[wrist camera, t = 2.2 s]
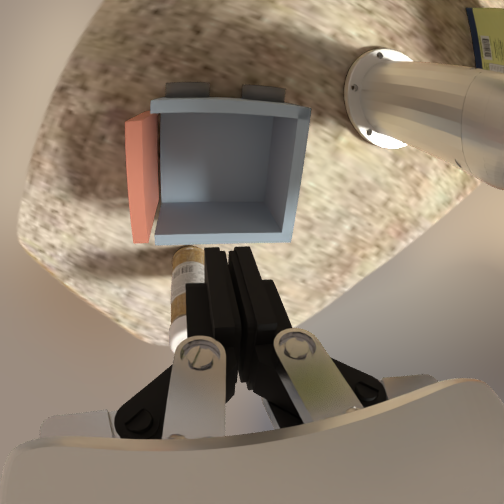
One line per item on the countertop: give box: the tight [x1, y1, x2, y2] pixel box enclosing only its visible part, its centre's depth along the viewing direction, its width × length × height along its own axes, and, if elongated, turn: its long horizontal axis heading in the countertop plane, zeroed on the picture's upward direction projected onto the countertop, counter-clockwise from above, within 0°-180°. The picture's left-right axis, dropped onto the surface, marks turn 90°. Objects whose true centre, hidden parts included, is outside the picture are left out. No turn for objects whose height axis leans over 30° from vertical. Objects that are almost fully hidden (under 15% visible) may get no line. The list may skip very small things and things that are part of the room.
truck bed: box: [150, 82, 311, 245], centre depth 25 cm, size 12×15×8 cm
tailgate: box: [125, 111, 159, 243], centre depth 23 cm, size 1×9×9 cm, turn 175°
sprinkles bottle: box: [169, 246, 204, 354], centre depth 29 cm, size 5×5×14 cm
